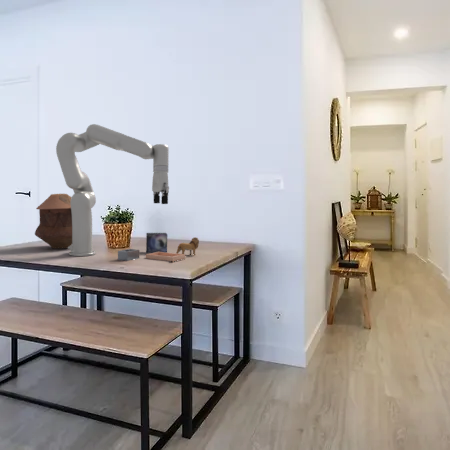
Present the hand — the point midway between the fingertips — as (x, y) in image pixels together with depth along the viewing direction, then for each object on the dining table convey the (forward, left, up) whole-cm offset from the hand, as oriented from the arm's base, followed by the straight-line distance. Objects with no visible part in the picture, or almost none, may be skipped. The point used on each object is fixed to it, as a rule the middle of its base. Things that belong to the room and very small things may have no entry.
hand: (160, 203), depth 205 cm
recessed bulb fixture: (-3, -21, -26) cm, 33 cm away
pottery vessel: (-60, -9, -26) cm, 66 cm away
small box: (-5, +4, -26) cm, 27 cm away
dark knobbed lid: (-3, -21, -26) cm, 34 cm away
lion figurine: (+13, +6, -26) cm, 30 cm away
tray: (+10, -10, -26) cm, 30 cm away
